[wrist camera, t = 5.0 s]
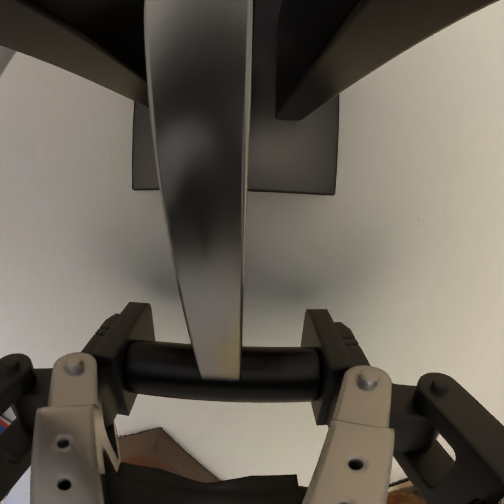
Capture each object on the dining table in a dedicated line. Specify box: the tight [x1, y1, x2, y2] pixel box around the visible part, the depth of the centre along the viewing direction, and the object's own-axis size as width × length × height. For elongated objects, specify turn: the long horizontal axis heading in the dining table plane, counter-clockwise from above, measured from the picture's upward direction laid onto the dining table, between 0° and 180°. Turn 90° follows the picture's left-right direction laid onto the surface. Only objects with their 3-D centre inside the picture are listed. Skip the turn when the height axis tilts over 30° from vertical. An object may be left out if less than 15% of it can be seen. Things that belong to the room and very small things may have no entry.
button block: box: [118, 428, 219, 483], centre depth 17 cm, size 11×9×4 cm
